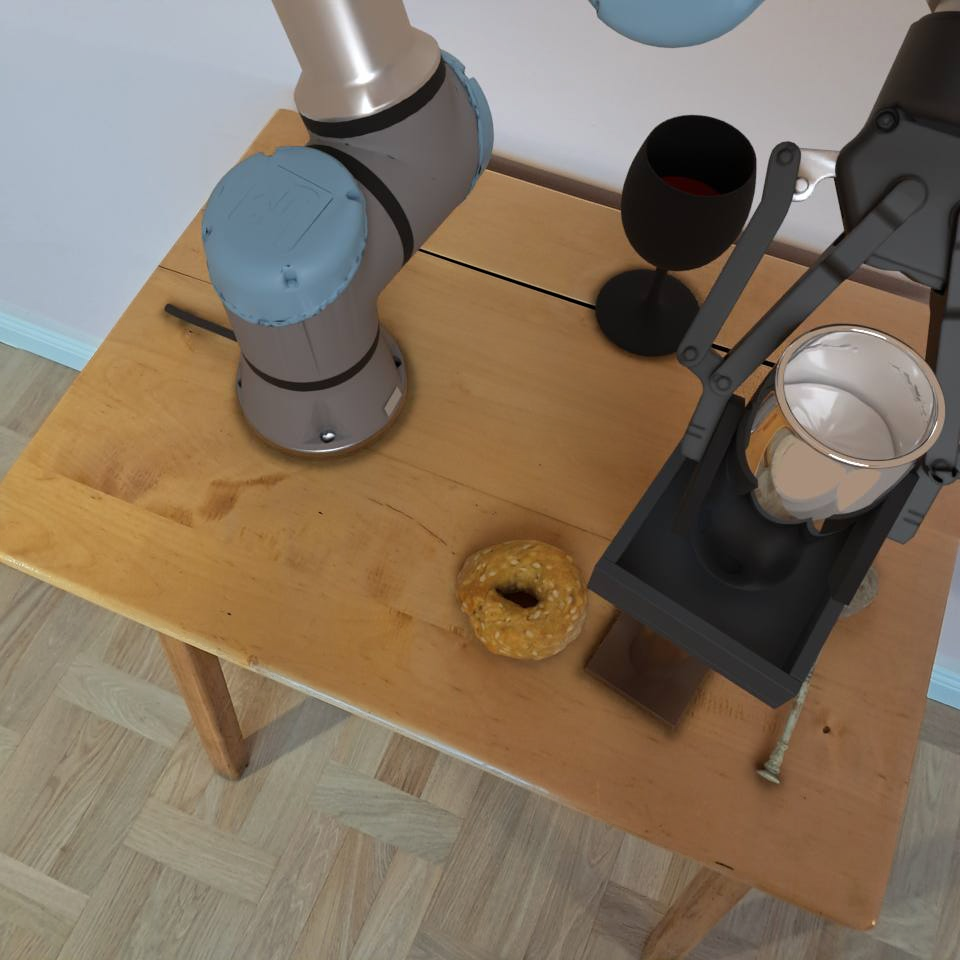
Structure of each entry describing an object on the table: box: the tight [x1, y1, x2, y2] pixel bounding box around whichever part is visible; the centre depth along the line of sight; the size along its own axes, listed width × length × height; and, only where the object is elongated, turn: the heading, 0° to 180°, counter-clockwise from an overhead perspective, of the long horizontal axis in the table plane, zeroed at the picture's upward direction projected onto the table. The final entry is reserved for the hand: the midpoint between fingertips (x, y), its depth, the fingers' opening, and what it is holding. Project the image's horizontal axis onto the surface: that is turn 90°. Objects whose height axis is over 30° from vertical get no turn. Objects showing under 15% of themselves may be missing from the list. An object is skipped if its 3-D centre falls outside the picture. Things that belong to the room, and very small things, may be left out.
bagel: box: [454, 539, 590, 661], centre depth 69 cm, size 10×11×5 cm
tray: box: [586, 437, 856, 710], centre depth 48 cm, size 12×13×3 cm
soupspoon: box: [755, 562, 880, 785], centre depth 69 cm, size 22×3×7 cm
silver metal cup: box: [690, 322, 946, 591], centre depth 40 cm, size 7×7×15 cm
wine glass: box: [594, 114, 758, 358], centre depth 76 cm, size 10×10×20 cm
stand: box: [583, 610, 711, 731], centre depth 59 cm, size 8×8×23 cm
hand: (758, 557), depth 41 cm, fingers closed on silver metal cup, 7 cm apart
